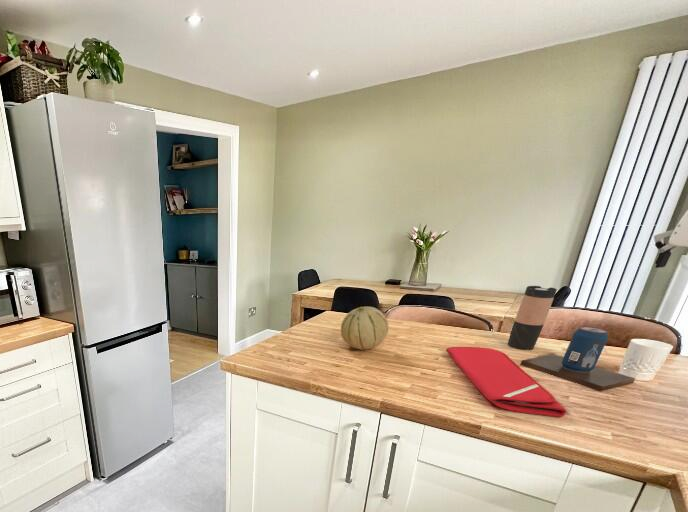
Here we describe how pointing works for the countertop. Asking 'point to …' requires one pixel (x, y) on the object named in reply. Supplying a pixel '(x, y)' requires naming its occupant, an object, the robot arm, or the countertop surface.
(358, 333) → the cantaloupe
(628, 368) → the white cup
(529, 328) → the travel mug
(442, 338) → the countertop surface
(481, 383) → the red folded napkin
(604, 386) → the serving board
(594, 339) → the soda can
